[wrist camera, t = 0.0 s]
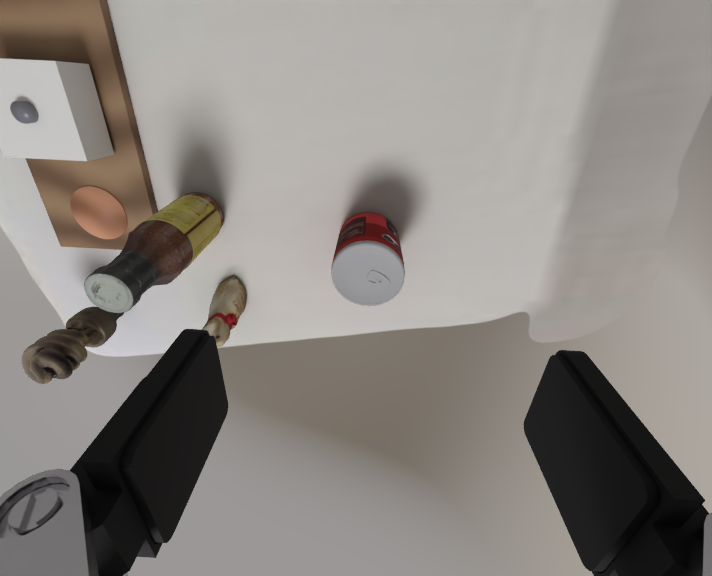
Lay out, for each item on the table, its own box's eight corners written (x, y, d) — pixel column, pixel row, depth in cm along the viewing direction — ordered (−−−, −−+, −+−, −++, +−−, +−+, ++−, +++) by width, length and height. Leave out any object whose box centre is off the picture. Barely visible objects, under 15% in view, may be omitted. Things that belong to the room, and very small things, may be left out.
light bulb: (112, 323, 56) (32, 394, 43) (90, 294, 53) (-2, 360, 40) (142, 315, 55) (70, 386, 42) (121, 285, 52) (38, 351, 39)
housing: (4, 60, 37) (-48, 55, 32) (88, 64, 37) (48, 60, 32) (39, 150, 41) (-3, 158, 37) (114, 154, 41) (81, 162, 37)
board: (-50, -57, 34) (-65, -63, 33) (93, -51, 34) (83, -57, 32) (67, 243, 49) (59, 247, 48) (166, 248, 49) (161, 252, 48)
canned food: (394, 267, 49) (399, 310, 39) (337, 261, 49) (328, 302, 39) (403, 214, 45) (411, 247, 36) (341, 207, 45) (333, 238, 36)
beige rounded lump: (202, 305, 53) (169, 347, 45) (230, 272, 50) (200, 309, 42) (232, 326, 55) (206, 370, 46) (261, 295, 52) (239, 336, 43)
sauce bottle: (168, 202, 46) (44, 270, 28) (208, 183, 44) (102, 242, 27) (198, 245, 49) (102, 331, 31) (236, 228, 47) (157, 309, 30)
